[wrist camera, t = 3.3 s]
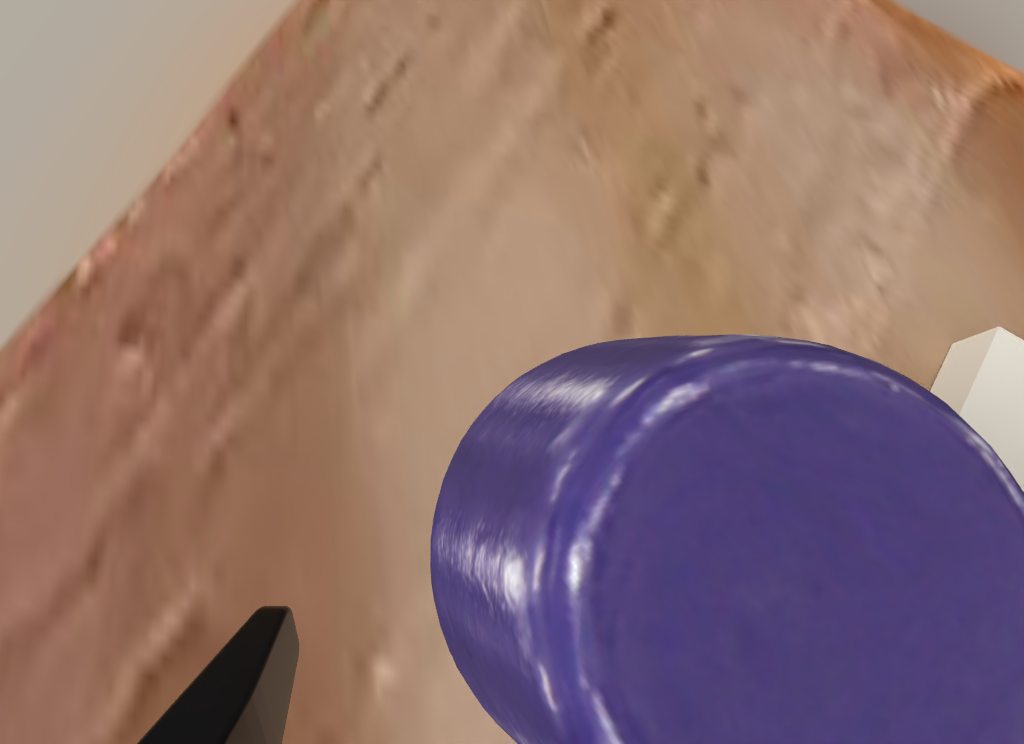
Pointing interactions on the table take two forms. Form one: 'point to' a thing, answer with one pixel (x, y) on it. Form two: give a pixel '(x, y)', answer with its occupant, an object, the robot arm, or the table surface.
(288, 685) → the robot arm
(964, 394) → the cutout frame
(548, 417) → the toy lamp
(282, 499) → the table surface
